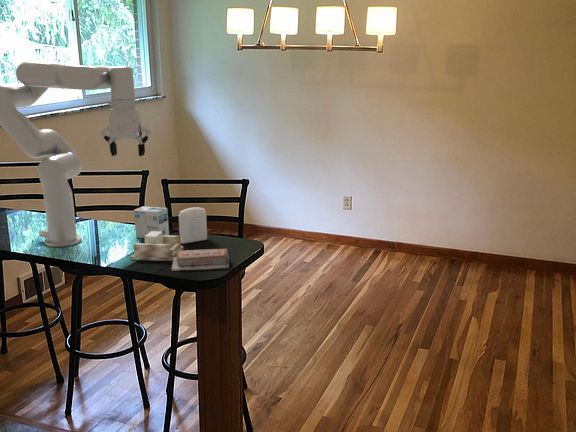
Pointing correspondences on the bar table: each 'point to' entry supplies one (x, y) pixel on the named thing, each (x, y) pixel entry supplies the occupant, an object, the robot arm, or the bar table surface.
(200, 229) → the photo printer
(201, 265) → the packaged product
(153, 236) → the white rectangular block
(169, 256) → the beige wooden tray
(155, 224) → the light bulb box
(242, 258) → the bar table surface
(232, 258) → the bar table surface
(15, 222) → the bar table surface
